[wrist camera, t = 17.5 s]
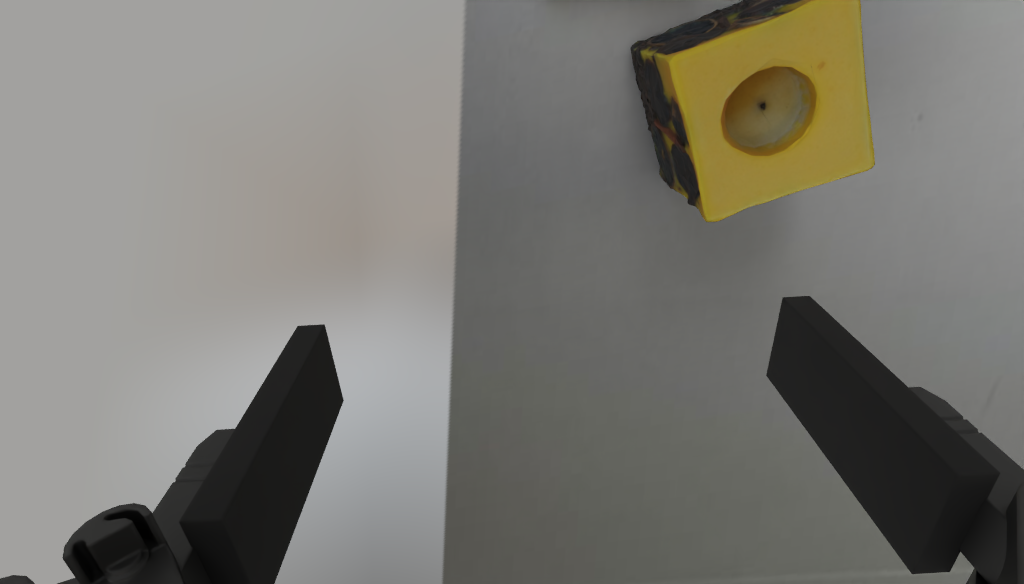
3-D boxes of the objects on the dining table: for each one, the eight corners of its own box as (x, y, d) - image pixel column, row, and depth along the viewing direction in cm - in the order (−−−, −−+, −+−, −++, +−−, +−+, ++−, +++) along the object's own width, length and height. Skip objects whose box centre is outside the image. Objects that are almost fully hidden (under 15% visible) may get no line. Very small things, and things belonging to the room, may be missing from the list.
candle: (795, 133, 40) (881, 170, 31) (660, 182, 41) (706, 231, 32) (775, -17, 35) (870, -23, 26) (625, 45, 37) (666, 58, 28)
